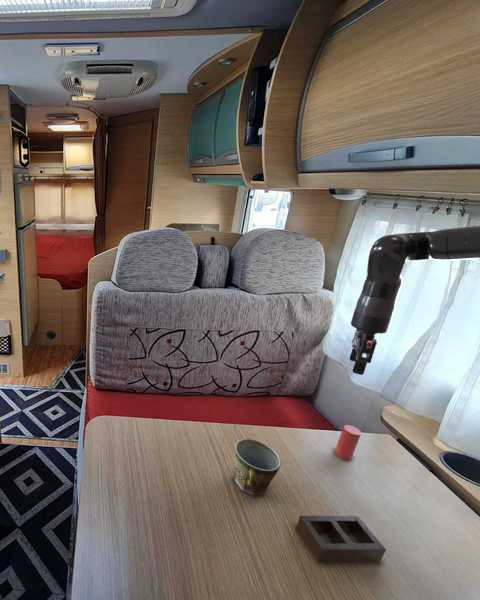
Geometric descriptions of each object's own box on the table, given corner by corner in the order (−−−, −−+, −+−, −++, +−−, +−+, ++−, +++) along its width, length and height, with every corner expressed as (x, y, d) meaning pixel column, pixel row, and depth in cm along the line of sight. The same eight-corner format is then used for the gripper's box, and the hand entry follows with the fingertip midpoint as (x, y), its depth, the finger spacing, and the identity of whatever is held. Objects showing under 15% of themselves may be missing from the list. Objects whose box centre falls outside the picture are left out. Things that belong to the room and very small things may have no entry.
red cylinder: (349, 453, 93) (359, 427, 90) (352, 462, 90) (362, 436, 87) (333, 448, 95) (342, 423, 92) (335, 457, 92) (345, 431, 89)
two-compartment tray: (352, 528, 73) (357, 515, 71) (379, 562, 66) (386, 549, 65) (295, 528, 73) (300, 515, 71) (317, 563, 66) (322, 549, 65)
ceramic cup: (232, 462, 90) (239, 433, 86) (273, 480, 84) (282, 449, 81) (221, 497, 79) (229, 466, 76) (268, 520, 74) (278, 487, 71)
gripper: (398, 323, 77) (377, 382, 82) (387, 307, 89) (369, 360, 94) (358, 316, 81) (340, 373, 86) (352, 302, 93) (337, 353, 98)
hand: (355, 366), depth 90 cm, fingers open, 8 cm apart
